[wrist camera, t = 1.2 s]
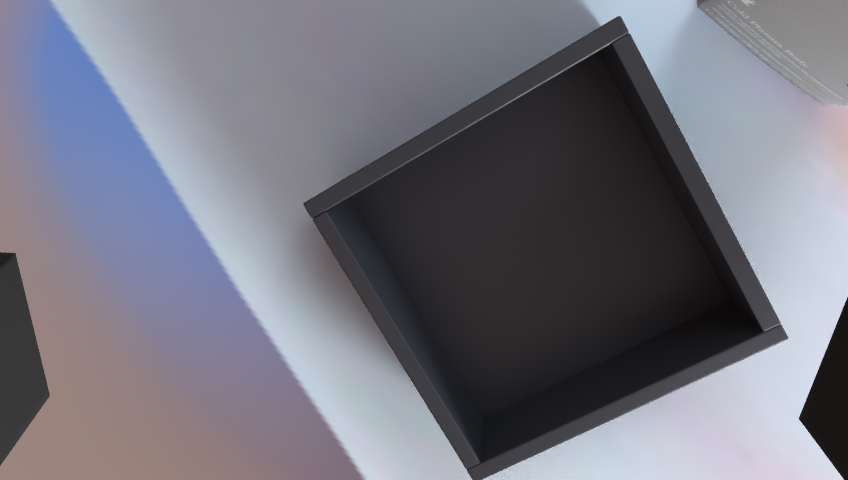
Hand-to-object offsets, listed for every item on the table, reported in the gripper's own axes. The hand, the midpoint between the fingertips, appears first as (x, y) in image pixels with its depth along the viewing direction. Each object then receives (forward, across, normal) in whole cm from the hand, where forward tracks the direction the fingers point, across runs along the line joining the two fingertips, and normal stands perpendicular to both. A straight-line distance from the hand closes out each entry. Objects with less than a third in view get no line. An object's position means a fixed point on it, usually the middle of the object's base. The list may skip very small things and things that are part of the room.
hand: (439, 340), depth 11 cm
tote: (+22, +7, -9) cm, 25 cm away
